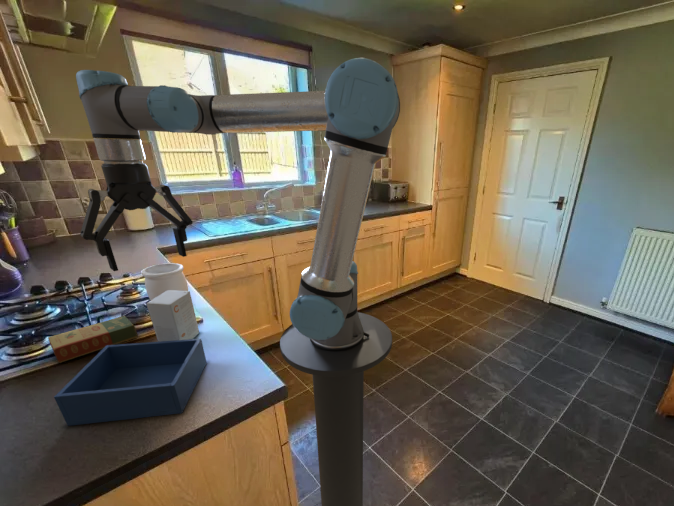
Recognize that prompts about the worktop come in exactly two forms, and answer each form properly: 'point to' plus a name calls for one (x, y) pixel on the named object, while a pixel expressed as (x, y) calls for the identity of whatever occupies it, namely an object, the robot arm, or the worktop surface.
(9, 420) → the worktop surface
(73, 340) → the carton
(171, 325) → the small box
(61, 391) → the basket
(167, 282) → the jar
